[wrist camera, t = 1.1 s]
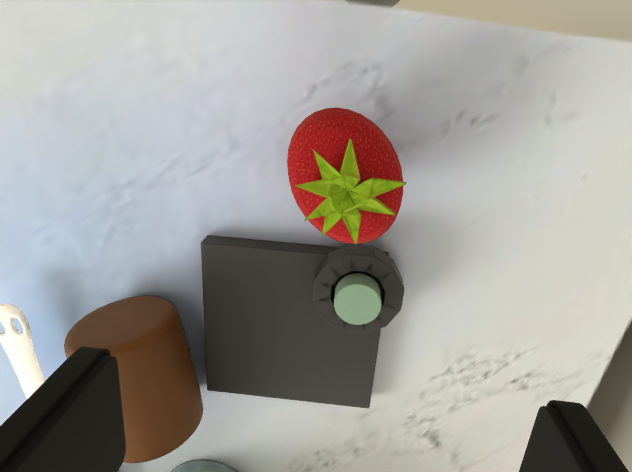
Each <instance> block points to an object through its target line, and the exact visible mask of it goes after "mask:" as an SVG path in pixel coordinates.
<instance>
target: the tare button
mask: <svg viewBox="0 0 632 472" xmlns="http://www.w3.org/2000/svg"><path fill="white" fill-rule="evenodd" d="M334 308H335V311H336V313H337V315H338V316H339V317H340V318H341V319H342V320H344V321H345V322H347V323H350V324H355V325H361V324H366V323H369V322H371V321H372V320H374V319H375V318H376V317H377V316H378V314H379V312H380V310H381V294H380V288H379V285H378V284H377V282H376V281H375V280H374V279H373V278H372V277H370V276H368V275H366V274H361V273H353V274H349V275H347V276H345V277H343V278H342V279H341V280H340V281H339V282H338V284H337V286H336V289H335V297H334Z"/></svg>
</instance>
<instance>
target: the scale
mask: <svg viewBox="0 0 632 472" xmlns="http://www.w3.org/2000/svg"><path fill="white" fill-rule="evenodd" d="M201 254H202V277H203V300H204V324H205V347H206V370H207V390H211V391H219V392H228V393H237V394H246V395H255V396H264V397H272V398H281V399H290V400H299V401H308V402H317V403H325V404H334V405H343V406H352V407H361V408H369V406H370V399H371V392H372V385H373V378H374V371H375V364H376V357H377V350H378V343H379V336H380V329H381V328H383V327H385V326H386V325H388V323H389V322H390V321H391V320H392V319H393V318H394V317H395V316H396V315H397V313H398V312H399V311H400V310H401V306H402V300H403V294H404V286H403V281H402V277H401V275H400V273H399V270H398V268H397V266H396V264H395V262H394V260H393V259H392V258H391V257H389V253H388V252H381V251H380V250H378V249H377V248H375V247H373V246H363V245H352V244H351V245H350V244H349V245H347V246H344V247H342V248H337V247H326V246H315V245H304V244H294V243H283V242H272V241H261V240H251V239H240V238H229V237H218V236H206V238H205V239H204V240H203V241H202V242H201ZM353 273H361V274H366V275H368V276H370V277H372V278H373V279H374V280H375V281H376V282H377V284H378V285H379V288H380V294H381V310H380V312H379V314H378V316H377V317H376V318H375V319H374V320H372V321H371V322H369V323H366V324H361V325H355V324H350V323H347V322H345V321H344V320H342V319H341V318H340V317H339V316H338V315H337V313H336V311H335V308H334V297H335V289H336V286H337V284H338V282H339V281H340V280H341V279H342V278H343V277H345V276H347V275H349V274H353Z"/></svg>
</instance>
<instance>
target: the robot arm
mask: <svg viewBox="0 0 632 472" xmlns="http://www.w3.org/2000/svg"><path fill="white" fill-rule="evenodd" d="M125 454H126V439H125V429H124V420H123V410H122V400H121V390H120V381H119V371H118V362H117V359H116V357H114V356H111V353H110V351H109V350H108V349H103V348H94V347H85V346H82V347H79V348H78V349H77V350H76V351H75V352H74V353H73V354H72V355H71V356H70V357H69V358H68V359H67V360H66V361H65V362H64V363H63V364H62V365H61V366H60V367H59V368H58V369H57V370H56V371H55V372H54V373H53V374H52V375H51V376H50V377H49V378H48V379H47V380H46V381H45V382H44V383H43V384H42V385H41V386H40V387H39V388H38V389H37V390H36V391H35V392H34V393H33V394H32V395H31V396H30V397H29V398H28V399H27V400H26V401H25V402H24V403H23V404H22V405H21V406H20V407H19V408H18V409H17V410H16V411H15V412H14V413H13V414H12V415H11V416H10V417H9V418H8V419H7V420H6V421H5V422H4V423H3V424H2V425H1V426H0V472H118V470H119V468H120V467H121V465H122V463H123V460H124V458H125ZM519 472H629V471H628V470H627V469H626V467H625V466H624V464H623V463H622V461H621V460H620V458H619V457H618V455H617V454H616V452H615V451H614V449H613V448H612V447H611V445H610V444H609V442H608V441H607V439H606V438H605V436H604V435H603V434H602V432H601V430H600V429H599V427H598V426H597V424H596V423H595V422H594V420H593V418H592V417H591V416H590V414H589V413H588V411H587V410H586V408H585V407H584V406H583V405H582V404H580V403H574V402H565V401H556V400H551V401H550V402H549V403H548V404H547V406H541V407H540V409H539V411H538V414H537V417H536V420H535V423H534V426H533V429H532V432H531V436H530V439H529V442H528V445H527V448H526V451H525V454H524V458H523V461H522V464H521V467H520V470H519Z"/></svg>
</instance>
